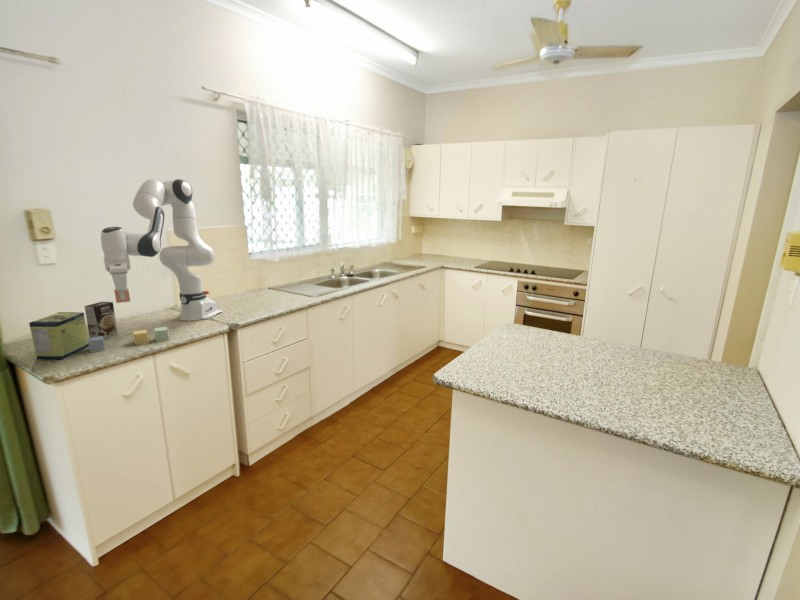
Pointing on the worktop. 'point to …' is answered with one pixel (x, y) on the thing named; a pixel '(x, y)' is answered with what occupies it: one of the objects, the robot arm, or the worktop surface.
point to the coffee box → (101, 320)
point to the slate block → (96, 343)
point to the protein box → (59, 335)
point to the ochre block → (140, 337)
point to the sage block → (161, 334)
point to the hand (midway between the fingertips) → (122, 297)
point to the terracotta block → (118, 300)
